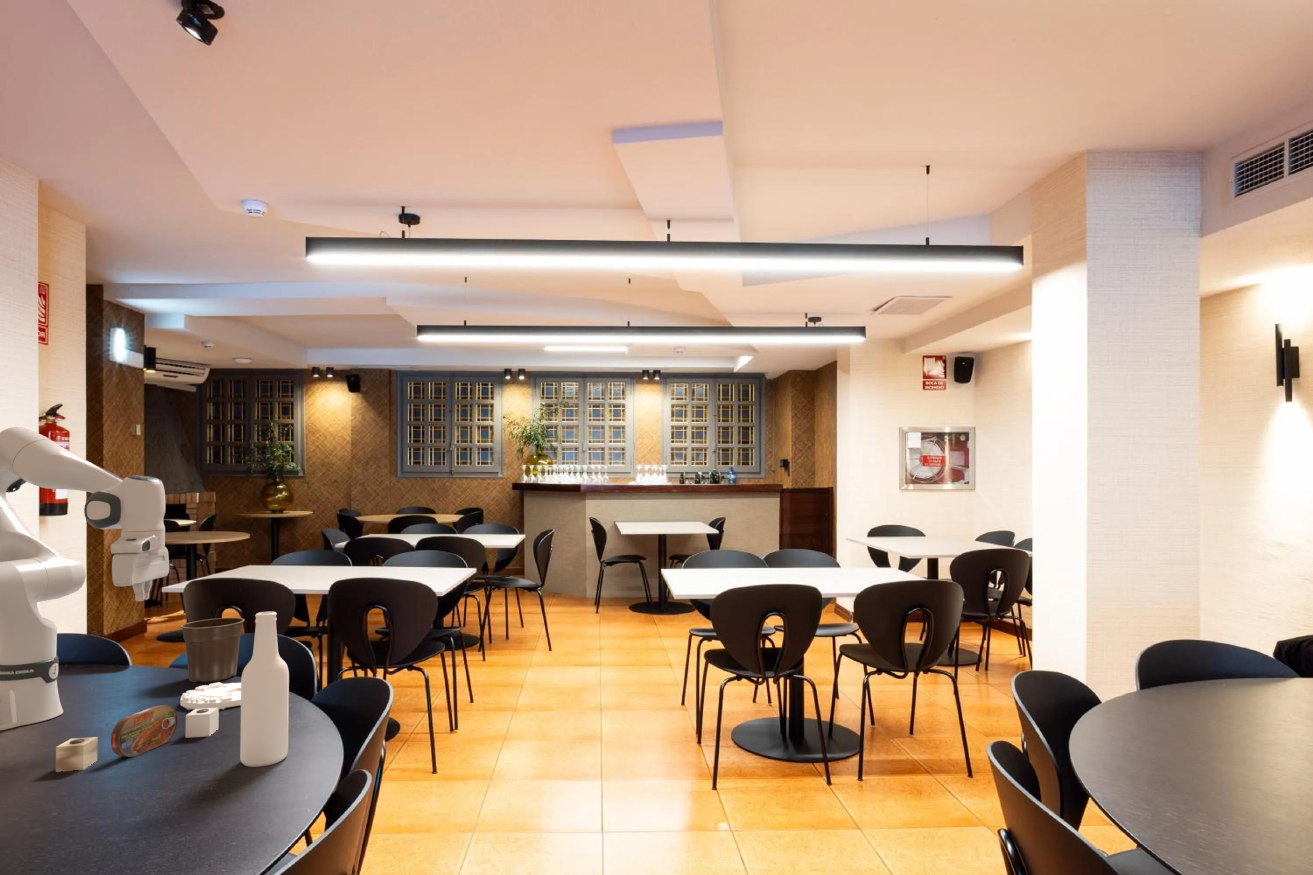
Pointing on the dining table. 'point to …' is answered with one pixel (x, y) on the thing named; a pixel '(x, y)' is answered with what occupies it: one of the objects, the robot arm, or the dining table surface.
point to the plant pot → (212, 648)
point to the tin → (144, 731)
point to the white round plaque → (212, 696)
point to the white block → (202, 722)
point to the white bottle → (264, 699)
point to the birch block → (76, 754)
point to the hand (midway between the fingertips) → (142, 600)
